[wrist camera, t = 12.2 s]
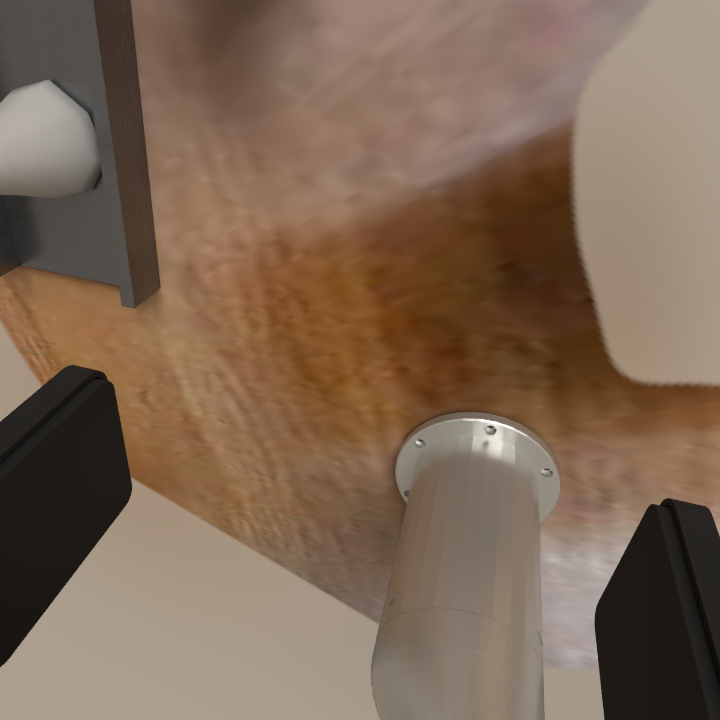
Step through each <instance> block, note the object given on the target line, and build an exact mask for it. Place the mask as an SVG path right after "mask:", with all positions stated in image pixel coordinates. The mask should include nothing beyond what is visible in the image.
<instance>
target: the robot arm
mask: <svg viewBox="0 0 720 720" xmlns="http://www.w3.org/2000/svg"><path fill="white" fill-rule="evenodd" d="M395 476H396V483H397V486H398V489H399V492H400V494H401V496H402V497H403V499H404V501H405V502H406V504H407V506H406V510H405V514H404V519H403V523H402V528H401V532H400V536H399V541H398V545H397V550H396V554H395V558H394V563H393V567H392V572H391V576H390V580H389V585H388V589H387V594H386V598H385V602H384V607H383V611H382V616H381V620H380V624H379V629H378V633H377V637H376V643H375V647H374V652H373V656H372V664H371V685H372V692H373V698H374V702H375V705H376V709H377V712H378V715H379V717H380V719H381V720H545V712H544V679H543V640H542V599H541V558H540V524H541V523H542V522H543V521H544V520H545V519H546V518H547V517H548V516H549V515H550V514H551V513H552V511H553V509H554V508H555V506H556V504H557V502H558V498H559V494H560V475H559V468H558V464H557V462H556V460H555V457H554V455H553V453H552V452H551V451H550V449H549V448H548V446H547V445H546V444H545V442H543V441H542V440H541V439H540V438H539V437H538V436H537V435H536V434H535V433H534V432H532V431H530V430H529V429H527V428H526V427H524V426H523V425H521V424H519V423H517V422H514V421H512V420H510V419H507V418H505V417H501V416H497V415H493V414H489V413H480V412H456V413H451V414H447V415H442V416H439V417H436V418H434V419H431V420H429V421H427V422H425V423H423V424H422V425H420V426H419V427H417V428H416V429H415V430H414V431H413V432H412V433H411V434H410V435H409V436H408V437H407V438H406V439H405V441H404V443H403V444H402V446H401V448H400V451H399V454H398V457H397V462H396V467H395ZM131 492H132V482H131V477H130V471H129V466H128V460H127V455H126V449H125V444H124V438H123V433H122V427H121V422H120V416H119V411H118V406H117V400H116V395H115V389H114V386H113V384H112V383H111V382H109V381H108V380H107V377H106V375H105V374H104V373H103V372H101V371H97V370H93V369H88V368H84V367H79V366H75V365H70V366H67V367H65V368H64V369H63V370H61V371H60V372H59V373H58V374H57V375H55V376H54V377H53V378H52V379H51V380H49V381H48V382H47V383H46V384H45V385H43V386H42V387H41V388H40V389H39V390H38V391H36V392H35V393H34V394H33V395H32V396H30V397H29V398H28V399H27V400H26V401H24V402H23V403H22V404H21V405H20V406H18V407H17V408H16V409H15V410H14V411H12V412H11V413H10V414H9V415H8V416H7V417H5V418H4V419H3V420H2V421H1V422H0V667H1V666H2V665H3V664H5V662H6V661H7V660H8V659H9V658H10V657H11V655H12V654H13V653H14V651H15V650H16V649H17V647H18V646H19V645H20V644H21V642H22V641H23V640H24V638H25V637H26V636H27V634H28V633H29V632H30V630H31V629H32V628H33V627H34V625H35V624H36V623H37V621H38V620H39V619H40V617H41V616H42V614H43V613H44V612H45V611H46V609H47V608H48V607H49V606H50V604H51V603H52V602H53V600H54V599H55V598H56V596H57V595H58V594H59V592H60V591H61V590H62V588H63V587H64V586H65V585H66V583H67V582H68V581H69V579H70V578H71V577H72V575H73V574H74V573H75V571H76V570H77V569H78V568H79V566H80V565H81V564H82V562H83V561H84V560H85V558H86V557H87V556H88V554H89V553H90V552H91V550H92V549H93V548H94V547H95V545H96V544H97V542H98V541H99V540H100V539H101V537H102V536H103V535H104V533H105V532H106V531H107V529H108V528H109V527H110V525H111V524H112V523H113V522H114V520H115V519H116V518H117V516H118V515H119V513H120V512H121V511H122V510H123V508H124V507H125V506H126V504H127V503H128V501H129V499H130V496H131ZM595 634H596V643H597V653H598V662H599V672H600V681H601V690H602V700H603V709H604V719H605V720H720V536H719V534H718V531H717V528H716V525H715V522H714V519H713V516H712V514H711V512H710V510H709V509H708V508H707V507H706V506H701V505H697V504H692V503H688V502H683V501H679V500H674V499H670V498H666V499H665V500H663V501H662V503H661V504H660V506H659V505H655V504H651V505H650V506H649V507H648V509H647V510H646V512H645V514H644V516H643V518H642V520H641V522H640V524H639V525H638V527H637V529H636V531H635V533H634V535H633V537H632V539H631V541H630V543H629V545H628V547H627V548H626V550H625V552H624V554H623V556H622V558H621V560H620V562H619V564H618V566H617V568H616V569H615V571H614V573H613V575H612V577H611V579H610V581H609V583H608V585H607V587H606V589H605V590H604V592H603V594H602V596H601V598H600V600H599V602H598V604H597V608H596V612H595Z"/></svg>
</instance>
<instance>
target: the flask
mask: <svg viewBox="0 0 720 720" xmlns="http://www.w3.org/2000/svg"><path fill="white" fill-rule="evenodd" d="M101 172H102V169H101V163H100V156H99V149H98V143H97V136H96V130H95V128H94V126H93V123H92V121H91V119H90V116H89V114H88V112H86V111H85V110H84V109H83V108H82V107H81V106H79V105H78V104H77V103H76V102H75V101H73V100H72V99H71V98H70V97H69V96H68V95H66V94H65V93H64V92H63V91H62V90H60V89H59V88H58V87H57V86H56V85H55V84H53V83H52V82H51V81H50V80H49V79H48V80H45V81H42V82H38V83H35V84H31V85H28V86H24V87H21V88H17V89H14V90H12V91H11V92H10V93H9V94H8V95H7V96H6V97H5V98H4V99H3V101H2V102H1V103H0V195H23V196H34V197H46V198H61V197H66V196H71V195H75V194H80V193H85V192H90V191H92V189H93V187H94V185H95V183H96V181H97V179H98V177H99V175H100V174H101Z"/></svg>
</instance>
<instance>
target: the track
mask: <svg viewBox="0 0 720 720" xmlns="http://www.w3.org/2000/svg"><path fill="white" fill-rule="evenodd" d="M48 79H49V80H50V81H51V82H52V83H53V84H55V85H56V86H57V87H58V88H59V89H60V90H62V91H63V92H64V93H65V94H66V95H68V96H69V97H70V98H71V99H72V100H73V101H75V102H76V103H77V104H78V105H79V106H81V107H82V108H83V109H84V110H85V111H86V112H88V114H89V116H90V119H91V121H92V123H93V126H94V128H95V130H96V136H97V143H98V149H99V156H100V163H101V169H102V172H101V174H100V175H99V177H98V179H97V181H96V183H95V185H94V187H93V189H92V191H90V192H85V193H80V194H75V195H71V196H66V197H61V198H46V197H34V196H23V195H0V277H1V276H2V275H4V274H6V273H8V272H10V271H11V270H13V269H15V268H17V267H18V266H20V265H21V266H26V267H31V268H36V269H41V270H45V271H50V272H55V273H60V274H65V275H69V276H74V277H79V278H84V279H89V280H93V281H98V282H103V283H108V284H113V285H117V286H119V290H120V297H121V303H122V306H125V307H130V308H136V307H137V306H138V305H140V304H141V303H142V302H143V301H144V300H146V299H147V298H148V297H149V296H150V295H152V294H153V293H154V292H155V291H156V290H157V289H159V288H160V280H159V270H158V261H157V251H156V242H155V233H154V223H153V214H152V204H151V195H150V185H149V176H148V166H147V157H146V147H145V138H144V128H143V119H142V110H141V100H140V91H139V81H138V72H137V62H136V53H135V43H134V34H133V24H132V15H131V5H130V0H0V103H1V102H2V101H3V99H4V98H5V97H6V96H7V95H8V94H9V93H10V92H11V91H12V90H14V89H17V88H21V87H24V86H28V85H31V84H35V83H38V82H42V81H45V80H48Z"/></svg>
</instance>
